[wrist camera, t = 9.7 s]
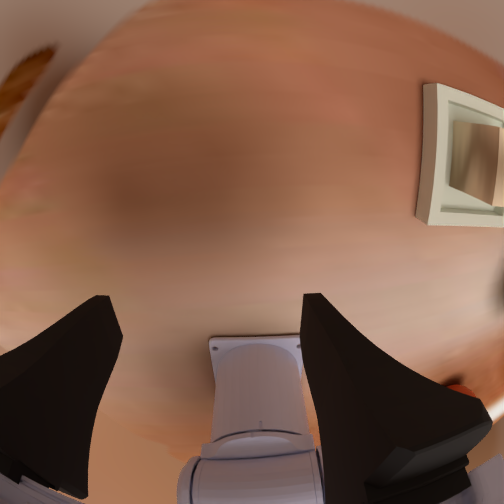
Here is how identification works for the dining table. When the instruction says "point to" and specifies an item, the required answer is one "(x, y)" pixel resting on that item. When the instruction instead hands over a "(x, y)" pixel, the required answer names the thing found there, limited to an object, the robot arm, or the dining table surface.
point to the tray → (440, 156)
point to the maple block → (478, 161)
